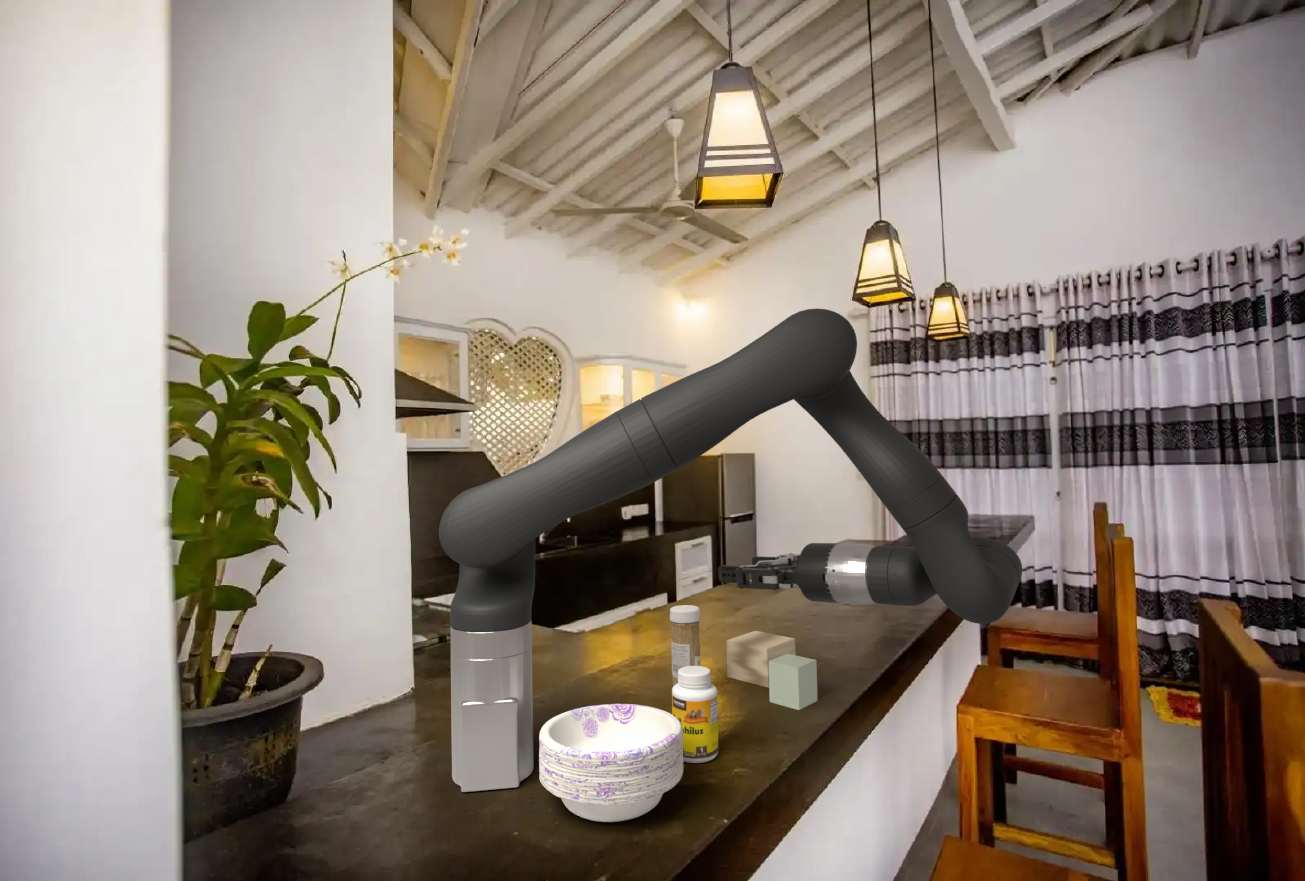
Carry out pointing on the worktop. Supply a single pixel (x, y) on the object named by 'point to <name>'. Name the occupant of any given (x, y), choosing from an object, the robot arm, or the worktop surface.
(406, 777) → the worktop surface
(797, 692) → the sage block
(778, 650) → the beech pedestal
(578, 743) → the paper bowls
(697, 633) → the brown spice jar
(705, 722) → the supplement bottle
